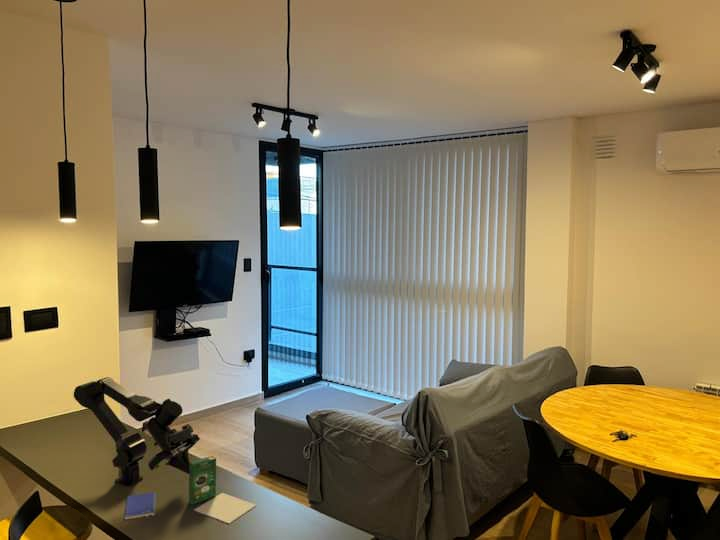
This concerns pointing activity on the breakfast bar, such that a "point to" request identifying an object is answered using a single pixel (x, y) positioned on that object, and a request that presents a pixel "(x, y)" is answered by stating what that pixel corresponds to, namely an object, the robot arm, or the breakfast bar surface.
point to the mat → (225, 508)
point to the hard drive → (140, 505)
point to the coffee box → (202, 480)
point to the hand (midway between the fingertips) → (190, 472)
